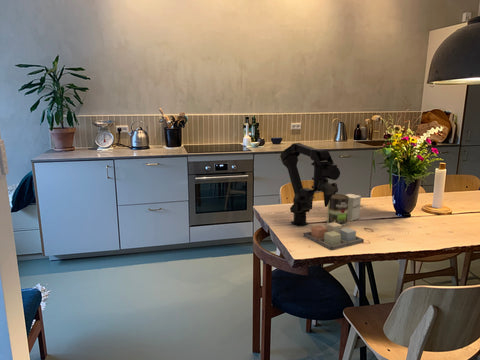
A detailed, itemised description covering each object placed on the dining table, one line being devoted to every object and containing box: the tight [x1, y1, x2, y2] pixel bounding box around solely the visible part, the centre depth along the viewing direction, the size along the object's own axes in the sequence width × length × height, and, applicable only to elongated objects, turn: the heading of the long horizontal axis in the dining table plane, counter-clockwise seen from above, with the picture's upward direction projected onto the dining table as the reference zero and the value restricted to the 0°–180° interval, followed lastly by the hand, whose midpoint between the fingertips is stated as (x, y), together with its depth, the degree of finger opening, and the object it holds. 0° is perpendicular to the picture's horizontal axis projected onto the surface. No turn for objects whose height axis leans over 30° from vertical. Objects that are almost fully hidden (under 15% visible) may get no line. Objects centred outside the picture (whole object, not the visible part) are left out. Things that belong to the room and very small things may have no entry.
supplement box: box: [345, 193, 362, 222], centre depth 206 cm, size 7×7×13 cm
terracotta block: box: [310, 225, 327, 239], centre depth 178 cm, size 5×5×5 cm
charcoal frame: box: [303, 222, 365, 251], centre depth 177 cm, size 19×19×5 cm
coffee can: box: [326, 193, 349, 227], centre depth 199 cm, size 10×10×14 cm
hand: (318, 208), depth 184 cm, fingers open, 9 cm apart
